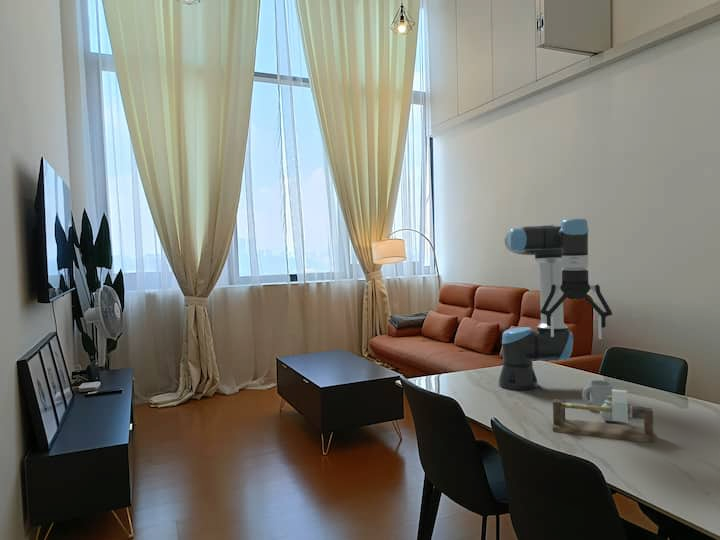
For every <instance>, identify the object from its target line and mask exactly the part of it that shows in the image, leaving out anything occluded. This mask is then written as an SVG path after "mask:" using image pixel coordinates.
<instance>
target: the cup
mask: <svg viewBox="0 0 720 540" xmlns="http://www.w3.org/2000/svg"><path fill="white" fill-rule="evenodd" d="M612 389H614V385H613V382H611V381H607V380H601V379H600V380H597V379H595V380H590V381H589V385H587V386H584V388H583V390H582V394H581V398H582V401H583V403H584V405H591V406H602V405H603V404H604V403H606V402H605V400H607V399H608V398H607V396H612ZM603 391H604V392H605V393H604V395H603V393H602V392H603ZM588 392H589V399H588ZM598 394H599V396H600V397H599V399H598V397H597V396H598ZM599 403H602V404H599Z"/></svg>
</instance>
